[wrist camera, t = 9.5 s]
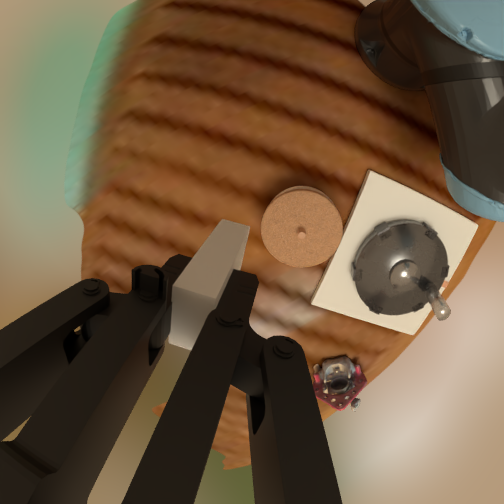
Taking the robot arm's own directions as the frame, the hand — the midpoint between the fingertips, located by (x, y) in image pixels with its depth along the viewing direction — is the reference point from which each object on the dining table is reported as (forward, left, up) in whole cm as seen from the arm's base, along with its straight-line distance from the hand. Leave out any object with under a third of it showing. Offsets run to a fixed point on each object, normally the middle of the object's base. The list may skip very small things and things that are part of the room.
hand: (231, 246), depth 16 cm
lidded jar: (+6, +6, -30) cm, 31 cm away
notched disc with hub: (+8, +24, -28) cm, 38 cm away
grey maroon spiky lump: (+35, +26, -30) cm, 53 cm away
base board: (+8, +24, -30) cm, 39 cm away
